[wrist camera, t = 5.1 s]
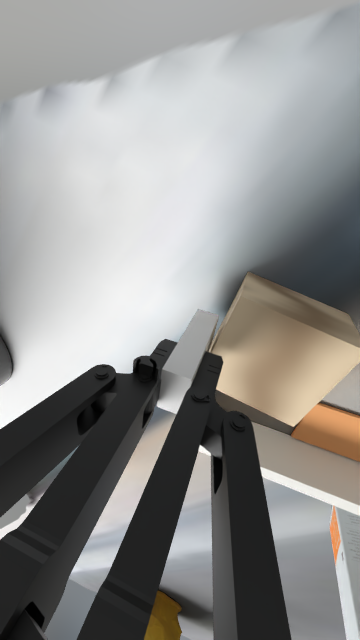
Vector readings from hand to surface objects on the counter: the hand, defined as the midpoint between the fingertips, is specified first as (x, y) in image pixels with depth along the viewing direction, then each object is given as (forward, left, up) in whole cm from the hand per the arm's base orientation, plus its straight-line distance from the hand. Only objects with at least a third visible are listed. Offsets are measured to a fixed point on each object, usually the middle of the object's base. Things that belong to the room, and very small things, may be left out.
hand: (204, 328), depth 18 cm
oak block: (+5, 0, -2) cm, 5 cm away
